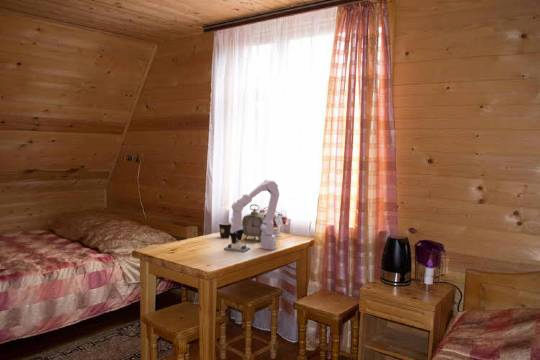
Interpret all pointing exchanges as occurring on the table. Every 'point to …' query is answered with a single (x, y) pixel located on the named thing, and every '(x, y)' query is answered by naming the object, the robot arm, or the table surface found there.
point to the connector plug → (237, 245)
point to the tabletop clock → (253, 224)
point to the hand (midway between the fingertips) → (236, 242)
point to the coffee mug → (225, 229)
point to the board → (242, 249)
